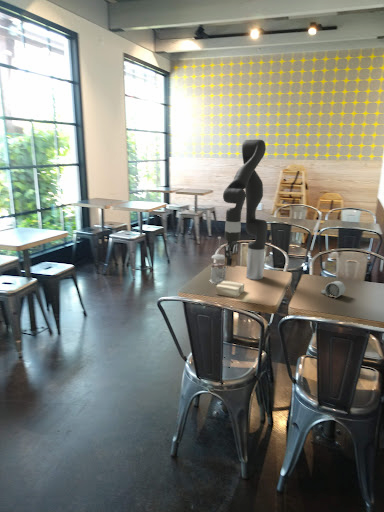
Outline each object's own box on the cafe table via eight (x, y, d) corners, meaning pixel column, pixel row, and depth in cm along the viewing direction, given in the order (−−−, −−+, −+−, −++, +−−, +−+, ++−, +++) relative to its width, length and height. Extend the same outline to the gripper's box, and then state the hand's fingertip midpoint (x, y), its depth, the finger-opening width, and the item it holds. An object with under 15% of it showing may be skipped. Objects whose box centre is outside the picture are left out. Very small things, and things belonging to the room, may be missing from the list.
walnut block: (228, 263, 192) (228, 251, 190) (237, 264, 190) (238, 253, 188) (224, 265, 188) (225, 253, 186) (234, 267, 185) (234, 255, 184)
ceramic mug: (345, 295, 190) (347, 281, 188) (339, 300, 185) (340, 284, 183) (325, 291, 197) (326, 276, 196) (318, 294, 192) (319, 280, 190)
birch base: (224, 287, 199) (224, 280, 198) (244, 291, 195) (244, 283, 194) (215, 293, 190) (215, 286, 189) (236, 297, 185) (236, 289, 184)
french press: (205, 280, 209) (206, 236, 203) (219, 276, 217) (221, 233, 210) (218, 285, 202) (219, 239, 196) (232, 281, 210) (234, 236, 203)
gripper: (231, 227, 192) (229, 259, 196) (219, 231, 180) (218, 266, 184) (245, 228, 189) (243, 261, 193) (234, 233, 176) (232, 268, 181)
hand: (231, 263), depth 188 cm, fingers closed on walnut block, 5 cm apart
